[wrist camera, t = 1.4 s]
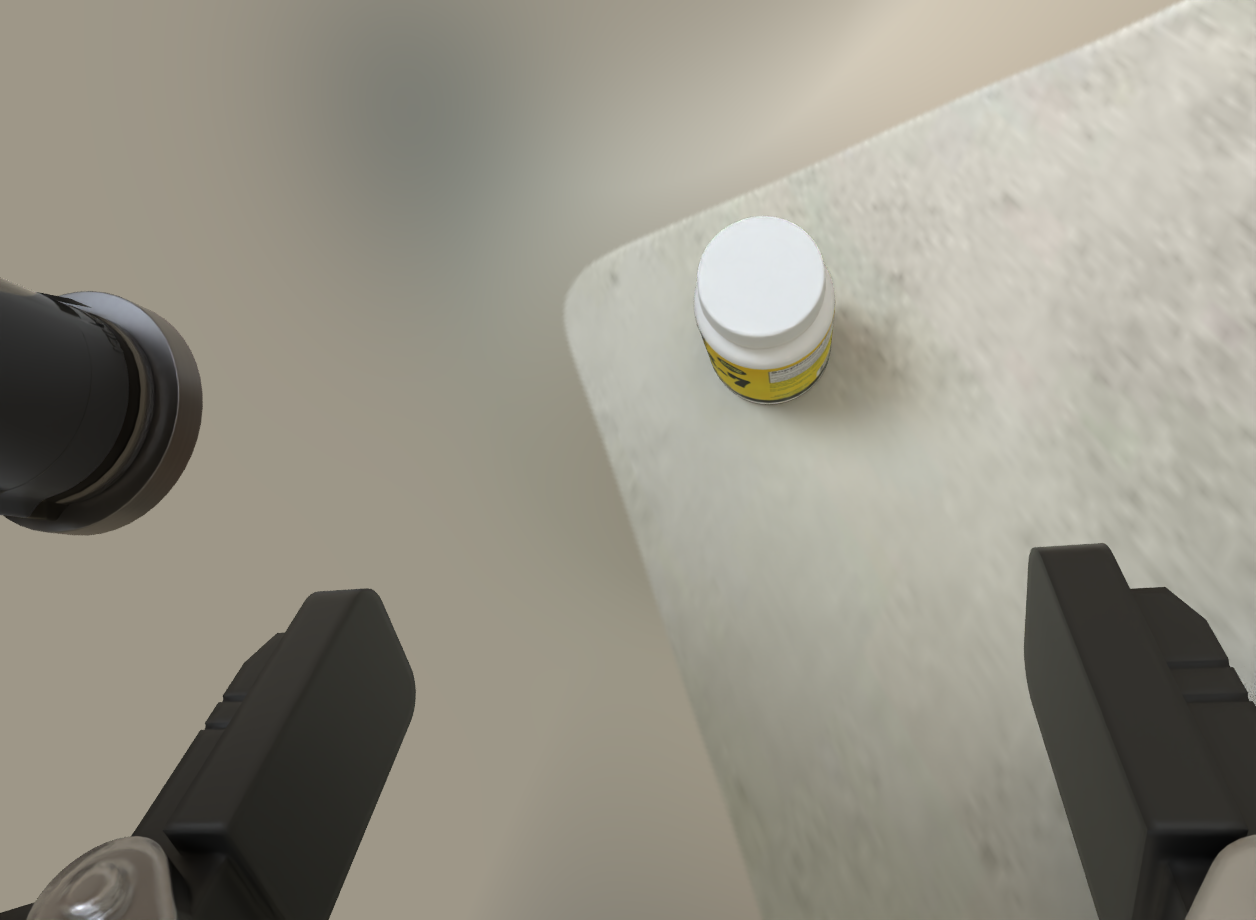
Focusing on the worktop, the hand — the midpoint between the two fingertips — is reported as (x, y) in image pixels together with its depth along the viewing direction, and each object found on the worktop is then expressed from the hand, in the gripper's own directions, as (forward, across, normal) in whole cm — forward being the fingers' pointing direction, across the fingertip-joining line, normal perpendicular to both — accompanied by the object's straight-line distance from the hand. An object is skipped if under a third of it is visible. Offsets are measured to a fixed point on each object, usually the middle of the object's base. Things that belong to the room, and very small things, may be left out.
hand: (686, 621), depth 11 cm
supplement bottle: (+25, 0, +9) cm, 27 cm away
